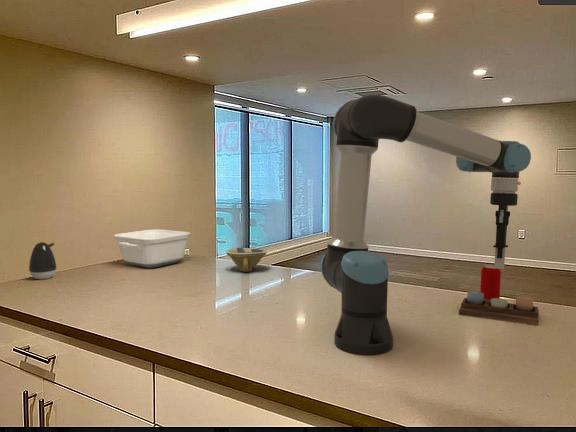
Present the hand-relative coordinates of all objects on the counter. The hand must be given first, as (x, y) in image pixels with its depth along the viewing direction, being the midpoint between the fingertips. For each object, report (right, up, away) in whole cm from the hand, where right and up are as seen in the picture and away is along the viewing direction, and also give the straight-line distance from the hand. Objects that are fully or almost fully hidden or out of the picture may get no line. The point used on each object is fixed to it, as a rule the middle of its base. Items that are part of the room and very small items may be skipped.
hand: (499, 268), depth 144 cm
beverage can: (+5, -13, +17) cm, 22 cm away
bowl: (-84, -9, +65) cm, 107 cm away
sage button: (+1, -13, +1) cm, 13 cm away
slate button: (-6, -11, +5) cm, 14 cm away
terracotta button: (+7, -12, -2) cm, 14 cm away
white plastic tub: (-131, -7, +80) cm, 154 cm away
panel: (+1, -15, +2) cm, 15 cm away
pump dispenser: (-168, -10, +51) cm, 176 cm away
